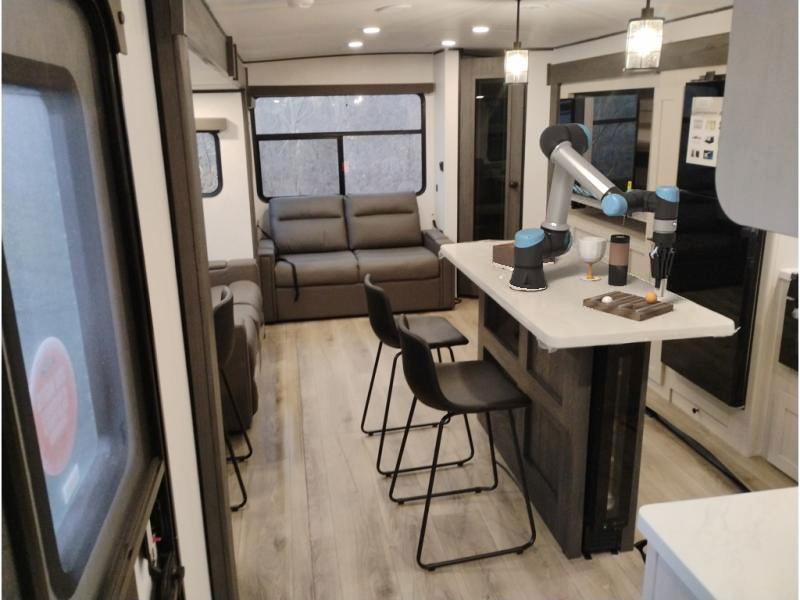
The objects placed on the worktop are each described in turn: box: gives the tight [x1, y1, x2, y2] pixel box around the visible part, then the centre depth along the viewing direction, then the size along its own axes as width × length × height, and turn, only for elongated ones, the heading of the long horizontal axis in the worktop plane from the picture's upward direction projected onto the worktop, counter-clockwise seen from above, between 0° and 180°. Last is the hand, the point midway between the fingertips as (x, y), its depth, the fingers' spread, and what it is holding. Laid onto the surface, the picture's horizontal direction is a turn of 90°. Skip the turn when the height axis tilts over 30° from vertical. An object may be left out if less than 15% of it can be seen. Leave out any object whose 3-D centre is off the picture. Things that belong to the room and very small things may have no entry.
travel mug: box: [607, 233, 631, 287], centre depth 264 cm, size 8×8×20 cm
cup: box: [577, 236, 608, 281], centre depth 274 cm, size 12×12×17 cm
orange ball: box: [645, 291, 658, 303], centre depth 230 cm, size 4×4×4 cm
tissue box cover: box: [492, 241, 556, 268], centre depth 303 cm, size 26×14×10 cm, turn 123°
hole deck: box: [582, 290, 674, 323], centre depth 233 cm, size 24×19×3 cm
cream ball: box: [602, 296, 613, 303], centre depth 235 cm, size 4×4×4 cm
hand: (658, 296), depth 233 cm, fingers closed
